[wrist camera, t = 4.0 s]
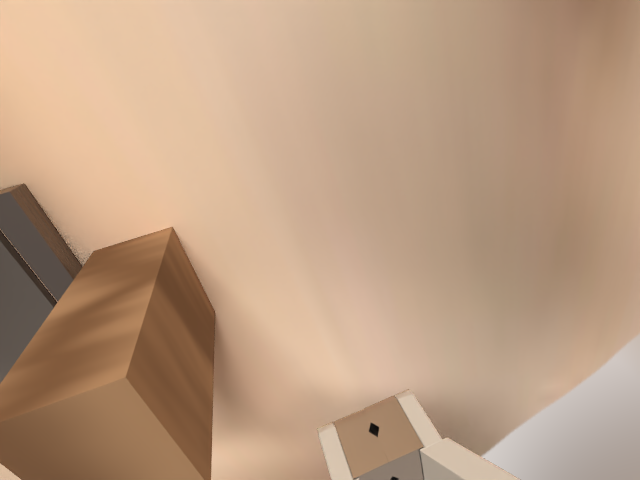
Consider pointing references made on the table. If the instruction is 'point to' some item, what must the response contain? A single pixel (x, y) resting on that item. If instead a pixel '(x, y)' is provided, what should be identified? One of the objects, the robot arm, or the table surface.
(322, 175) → the table surface
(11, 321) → the mat
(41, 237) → the rail
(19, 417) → the walnut block
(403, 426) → the robot arm
